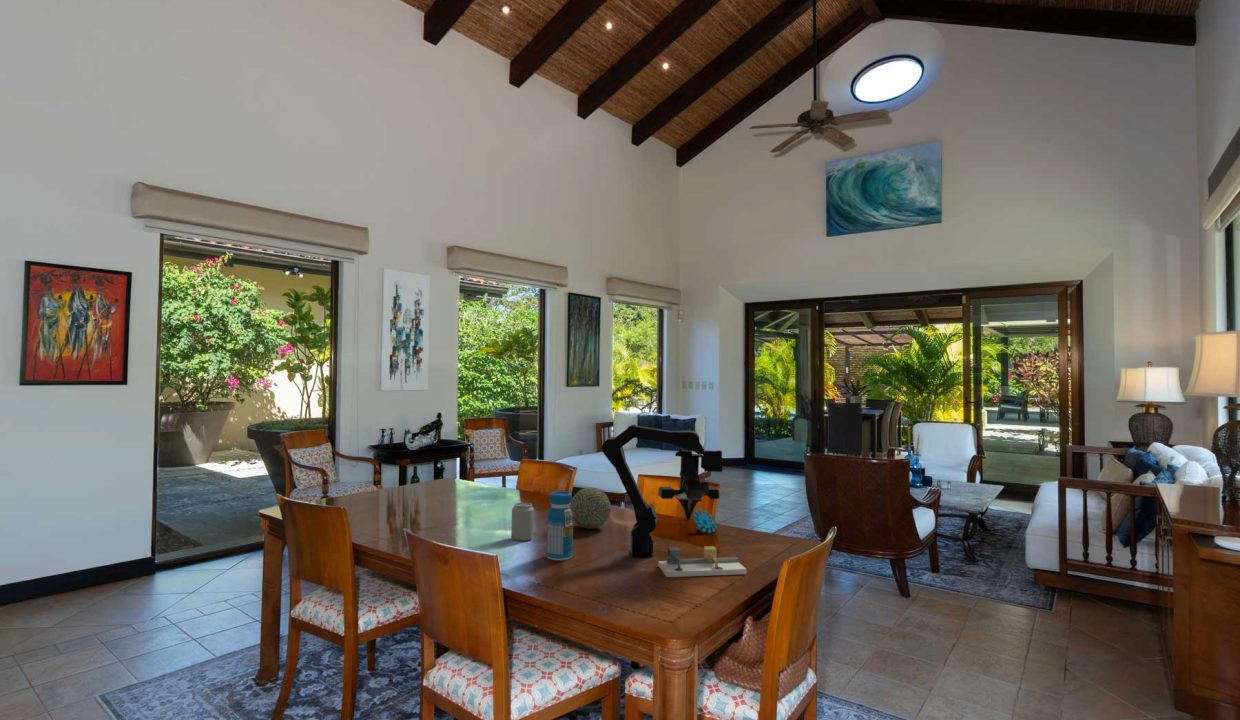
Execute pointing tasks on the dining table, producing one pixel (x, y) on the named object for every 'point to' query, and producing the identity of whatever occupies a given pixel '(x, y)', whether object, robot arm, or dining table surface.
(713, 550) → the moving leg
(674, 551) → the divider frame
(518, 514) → the can
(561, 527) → the beverage bottle
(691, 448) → the robot arm
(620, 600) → the dining table surface
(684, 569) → the plate
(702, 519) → the gear
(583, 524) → the decorative sphere
